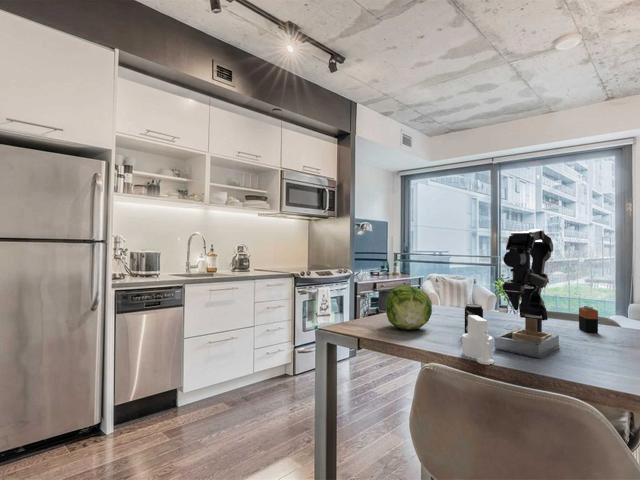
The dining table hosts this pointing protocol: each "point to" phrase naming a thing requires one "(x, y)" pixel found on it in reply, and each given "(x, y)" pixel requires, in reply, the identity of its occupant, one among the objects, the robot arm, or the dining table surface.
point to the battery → (588, 319)
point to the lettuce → (408, 307)
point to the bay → (526, 345)
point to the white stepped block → (475, 338)
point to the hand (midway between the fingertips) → (521, 308)
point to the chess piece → (485, 351)
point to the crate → (530, 333)
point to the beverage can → (472, 313)
